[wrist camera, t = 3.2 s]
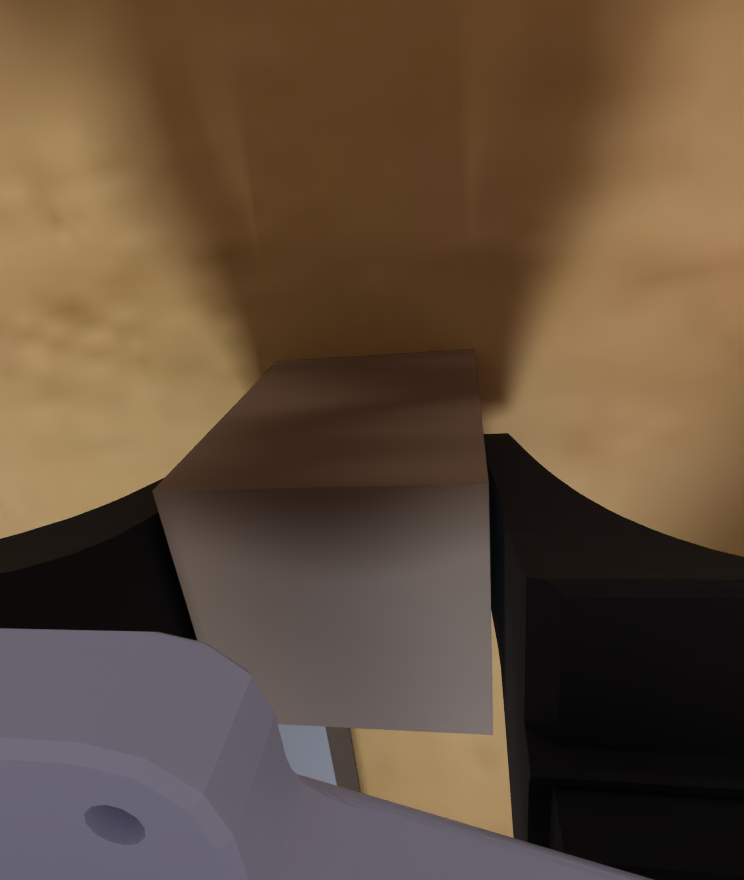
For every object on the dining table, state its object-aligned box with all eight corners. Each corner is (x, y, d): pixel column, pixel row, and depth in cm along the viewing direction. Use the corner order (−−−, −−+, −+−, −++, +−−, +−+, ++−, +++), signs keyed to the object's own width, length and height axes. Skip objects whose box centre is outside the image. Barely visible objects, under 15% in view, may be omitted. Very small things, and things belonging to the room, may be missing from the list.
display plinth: (333, 634, 16) (311, 717, 14) (379, 904, 22) (369, 998, 20) (-129, 624, 19) (-218, 692, 16) (21, 868, 25) (-29, 946, 22)
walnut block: (474, 348, 12) (487, 482, 7) (478, 521, 14) (492, 734, 9) (277, 360, 13) (152, 491, 8) (306, 523, 15) (222, 722, 9)
